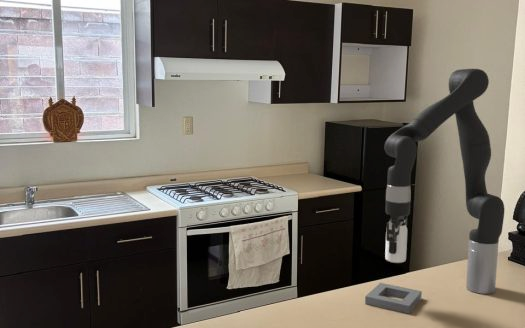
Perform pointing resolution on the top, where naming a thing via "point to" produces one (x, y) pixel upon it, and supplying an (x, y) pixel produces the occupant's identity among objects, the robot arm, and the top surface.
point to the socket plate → (383, 289)
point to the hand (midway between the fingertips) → (396, 250)
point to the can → (398, 246)
